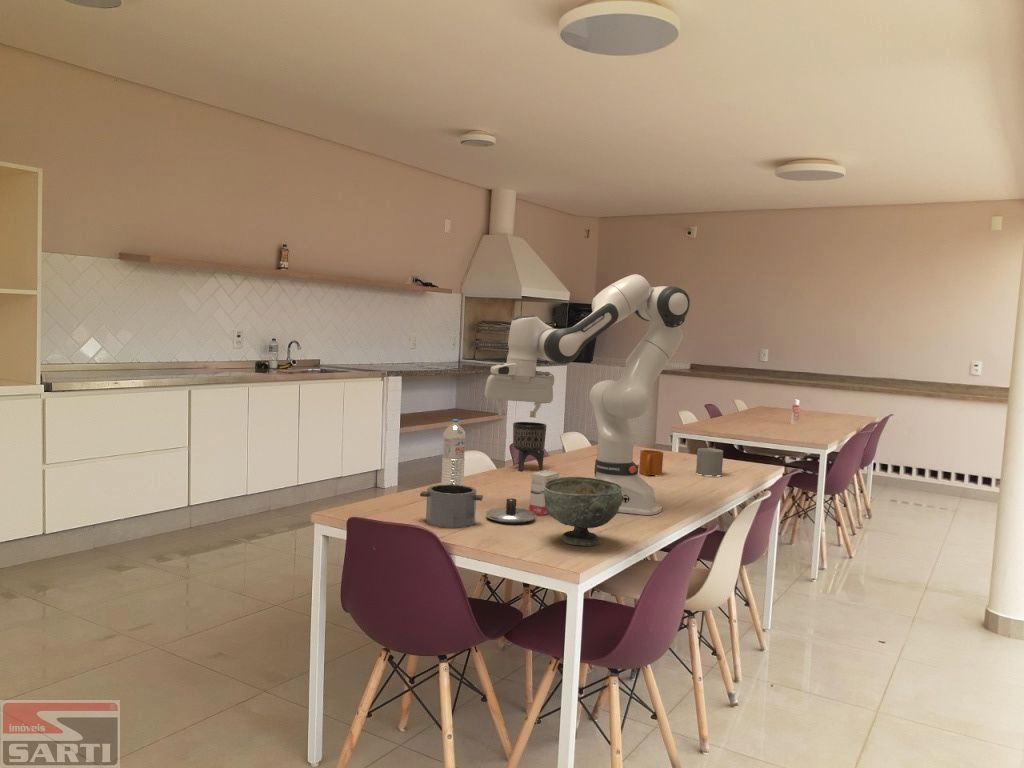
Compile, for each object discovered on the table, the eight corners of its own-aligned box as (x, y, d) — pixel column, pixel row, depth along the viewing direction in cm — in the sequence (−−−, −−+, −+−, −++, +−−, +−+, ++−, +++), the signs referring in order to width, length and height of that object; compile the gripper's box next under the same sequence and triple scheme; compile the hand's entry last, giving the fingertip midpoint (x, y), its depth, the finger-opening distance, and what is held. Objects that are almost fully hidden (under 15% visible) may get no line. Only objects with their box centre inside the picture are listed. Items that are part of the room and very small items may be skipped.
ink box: (543, 516, 228) (545, 475, 227) (528, 513, 231) (530, 473, 230) (557, 511, 235) (559, 471, 234) (543, 508, 238) (545, 469, 237)
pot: (484, 518, 221) (485, 486, 220) (477, 529, 208) (479, 496, 207) (425, 514, 223) (426, 482, 222) (415, 525, 210) (416, 491, 209)
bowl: (531, 545, 196) (534, 485, 195) (555, 528, 214) (558, 473, 213) (608, 556, 189) (612, 494, 188) (626, 538, 207) (629, 482, 206)
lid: (543, 518, 225) (544, 498, 225) (522, 528, 213) (523, 507, 212) (499, 511, 231) (500, 492, 231) (477, 521, 219) (477, 500, 218)
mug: (632, 475, 304) (633, 452, 304) (644, 471, 314) (645, 449, 314) (653, 478, 300) (655, 454, 299) (665, 474, 310) (666, 451, 309)
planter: (533, 473, 296) (535, 426, 295) (504, 469, 303) (506, 423, 302) (550, 469, 307) (552, 424, 306) (522, 465, 314) (524, 421, 313)
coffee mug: (717, 478, 307) (719, 452, 306) (692, 474, 311) (694, 449, 311) (726, 473, 318) (728, 449, 317) (702, 470, 323) (704, 446, 322)
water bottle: (445, 502, 239) (449, 420, 238) (437, 497, 245) (440, 418, 244) (466, 501, 242) (470, 420, 241) (457, 496, 248) (460, 417, 247)
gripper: (552, 371, 238) (548, 417, 238) (485, 366, 233) (481, 413, 234) (557, 372, 231) (553, 419, 232) (489, 367, 227) (485, 415, 228)
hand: (517, 416), depth 233 cm, fingers open, 8 cm apart
